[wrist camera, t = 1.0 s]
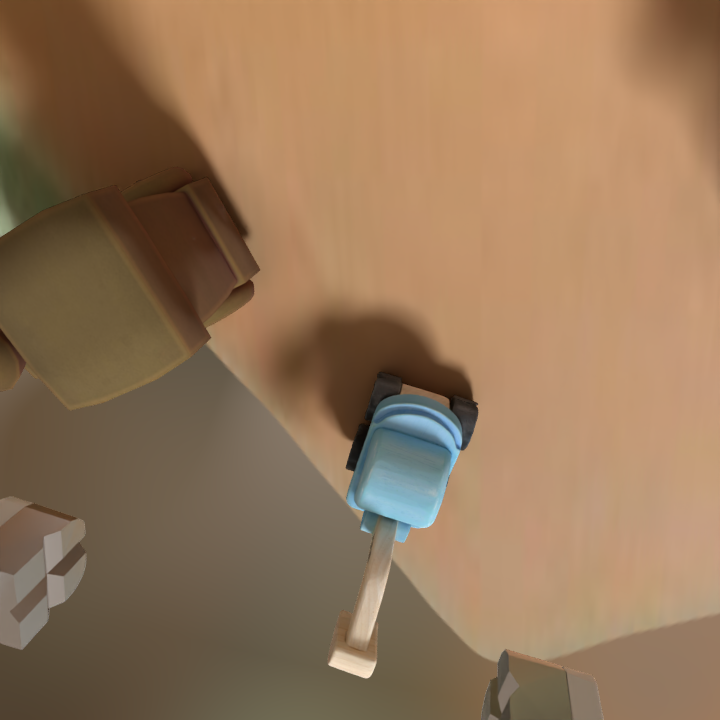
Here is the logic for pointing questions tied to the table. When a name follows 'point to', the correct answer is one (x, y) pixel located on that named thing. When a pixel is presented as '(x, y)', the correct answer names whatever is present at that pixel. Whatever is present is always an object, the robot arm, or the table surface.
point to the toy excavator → (396, 493)
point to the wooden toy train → (118, 286)
